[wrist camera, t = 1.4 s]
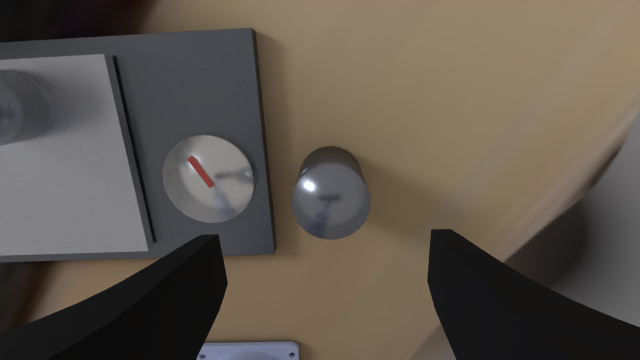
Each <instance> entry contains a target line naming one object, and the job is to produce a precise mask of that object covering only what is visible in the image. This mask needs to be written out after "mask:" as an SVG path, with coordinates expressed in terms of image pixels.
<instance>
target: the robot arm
mask: <svg viewBox="0 0 640 360" xmlns="http://www.w3.org/2000/svg"><path fill="white" fill-rule="evenodd" d="M427 281H428V285H429V289H430V293H431V296H432V300H433V303H434V307H435V310H436V312H437V315H438V317H439V319H440V322H441V324H442V327H443V329H444V331H445V334H446V336H447V338H448V341H449V343H450V345H451V348H452V350H453V352H454V355H455V357H456V359H457V360H640V327H637V326H635V325H632V324H629V323H627V322H624V321H621V320H618V319H616V318H614V317H611V316H609V315H606V314H604V313H601V312H599V311H597V310H594V309H592V308H589V307H587V306H585V305H582V304H580V303H578V302H575V301H573V300H571V299H569V298H567V297H565V296H563V295H561V294H559V293H557V292H555V291H553V290H550V289H549V288H546V287H544V286H543V285H541V284H539V283H537V282H535V281H533V280H531V279H529V278H527V277H526V276H524V275H523V274H521V273H519V272H517V271H516V270H514V269H512V268H510V267H509V266H507V265H505V264H504V263H502V262H501V261H499V260H497V259H496V258H494V257H493V256H491V255H490V254H488V253H486V252H485V251H483V250H482V249H480V248H479V247H477V246H476V245H474V244H473V243H471V242H470V241H468V240H467V239H465V238H464V237H462V236H461V235H459V234H458V233H456V232H454V231H453V230H451V229H434V230H431V240H430V253H429V266H428V279H427ZM227 284H228V282H227V276H226V271H225V266H224V260H223V255H222V250H221V244H220V239H219V234H206V235H200V236H198V237H196V238H194V239H192V240H190V241H188V242H187V243H185V244H183V245H182V246H180V247H179V248H177V249H175V250H174V251H172V252H171V253H169V254H167V255H166V256H164V257H162V258H161V259H159V260H158V261H156V262H154V263H153V264H151V265H149V266H148V267H146V268H144V269H142V270H141V271H139V272H137V273H135V274H134V275H132V276H130V277H128V278H127V279H125V280H123V281H121V282H120V283H118V284H116V285H114V286H112V287H110V288H108V289H106V290H104V291H102V292H100V293H98V294H96V295H94V296H92V297H90V298H88V299H86V300H83V301H81V302H79V303H77V304H74V305H72V306H70V307H67V308H65V309H62V310H60V311H58V312H55V313H53V314H50V315H48V316H46V317H43V318H41V319H38V320H36V321H33V322H31V323H28V324H25V325H22V326H20V327H17V328H14V329H12V330H9V331H6V332H3V333H0V360H196V359H197V360H300V357H299V346H298V344H297V343H296V342H292V341H291V342H237V343H204V342H205V340H206V338H207V336H208V334H209V331H210V329H211V327H212V325H213V323H214V321H215V319H216V316H217V314H218V312H219V310H220V307H221V304H222V301H223V298H224V294H225V291H226V288H227ZM291 353H294V354H291ZM202 354H203V355H202ZM204 355H205V356H204Z"/></svg>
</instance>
